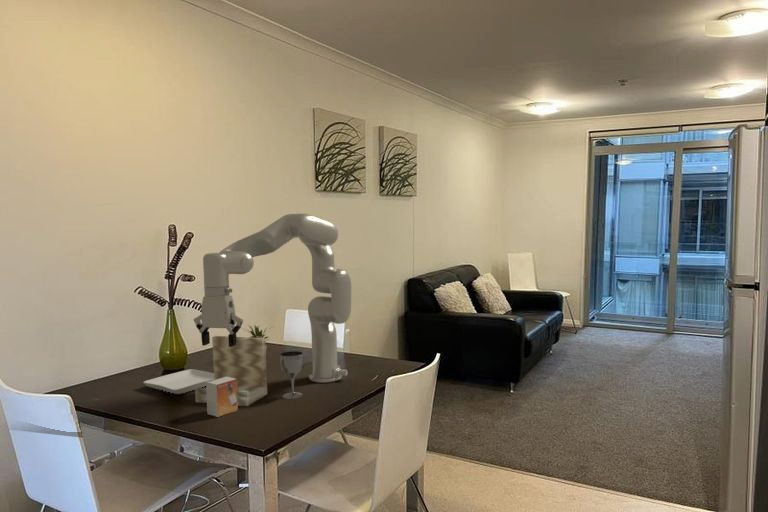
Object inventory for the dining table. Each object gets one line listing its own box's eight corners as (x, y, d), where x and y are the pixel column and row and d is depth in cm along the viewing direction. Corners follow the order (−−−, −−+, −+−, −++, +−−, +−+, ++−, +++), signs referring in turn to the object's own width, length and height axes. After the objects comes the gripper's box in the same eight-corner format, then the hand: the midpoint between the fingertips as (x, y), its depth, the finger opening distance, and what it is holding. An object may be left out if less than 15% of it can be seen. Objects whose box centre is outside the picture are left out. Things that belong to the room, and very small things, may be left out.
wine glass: (294, 400, 186) (292, 357, 185) (276, 397, 190) (274, 354, 189) (309, 394, 193) (307, 352, 192) (292, 390, 197) (290, 349, 196)
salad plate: (191, 376, 221) (190, 367, 221) (225, 383, 209) (224, 375, 209) (141, 390, 204) (141, 381, 204) (175, 399, 192) (175, 389, 192)
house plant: (233, 360, 242) (231, 324, 241) (256, 354, 254) (255, 319, 252) (255, 365, 234) (253, 327, 233) (279, 357, 245) (277, 321, 244)
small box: (217, 417, 172) (216, 384, 171) (206, 414, 175) (205, 381, 175) (238, 410, 178) (237, 378, 178) (227, 407, 182) (226, 375, 181)
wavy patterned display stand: (267, 393, 194) (264, 338, 193) (247, 406, 182) (245, 346, 180) (218, 390, 200) (215, 336, 199) (195, 402, 188) (192, 344, 186)
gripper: (247, 290, 175) (249, 343, 176) (200, 290, 180) (202, 341, 181) (234, 293, 168) (236, 349, 169) (186, 293, 173) (188, 346, 174)
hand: (219, 345), depth 175 cm, fingers open, 9 cm apart
